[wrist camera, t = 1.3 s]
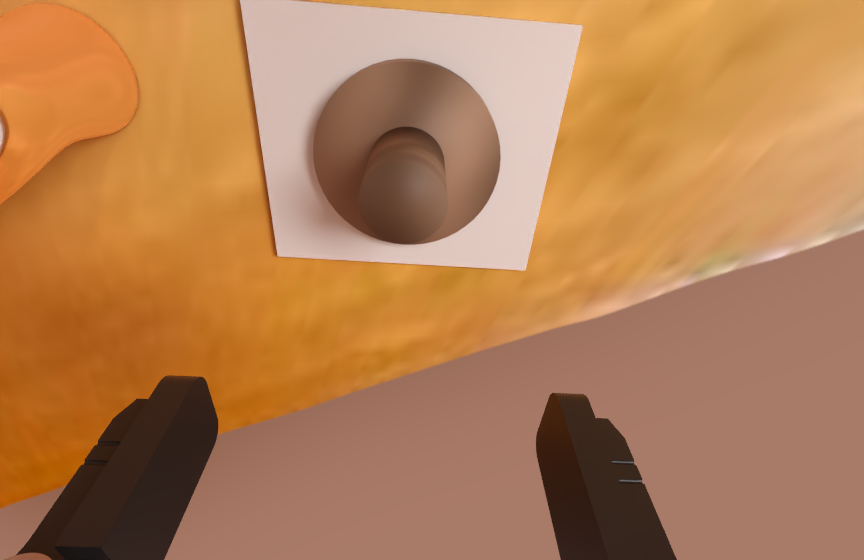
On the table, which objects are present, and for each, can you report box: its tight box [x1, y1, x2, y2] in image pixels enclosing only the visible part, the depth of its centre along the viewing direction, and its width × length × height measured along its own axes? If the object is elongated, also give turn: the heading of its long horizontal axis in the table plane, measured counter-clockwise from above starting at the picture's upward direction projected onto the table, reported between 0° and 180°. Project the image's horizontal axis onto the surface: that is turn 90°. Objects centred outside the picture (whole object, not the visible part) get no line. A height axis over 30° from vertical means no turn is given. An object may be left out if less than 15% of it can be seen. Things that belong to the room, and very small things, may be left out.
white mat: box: [240, 0, 583, 270], centre depth 25 cm, size 16×14×1 cm
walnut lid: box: [313, 59, 501, 245], centre depth 22 cm, size 10×10×6 cm
